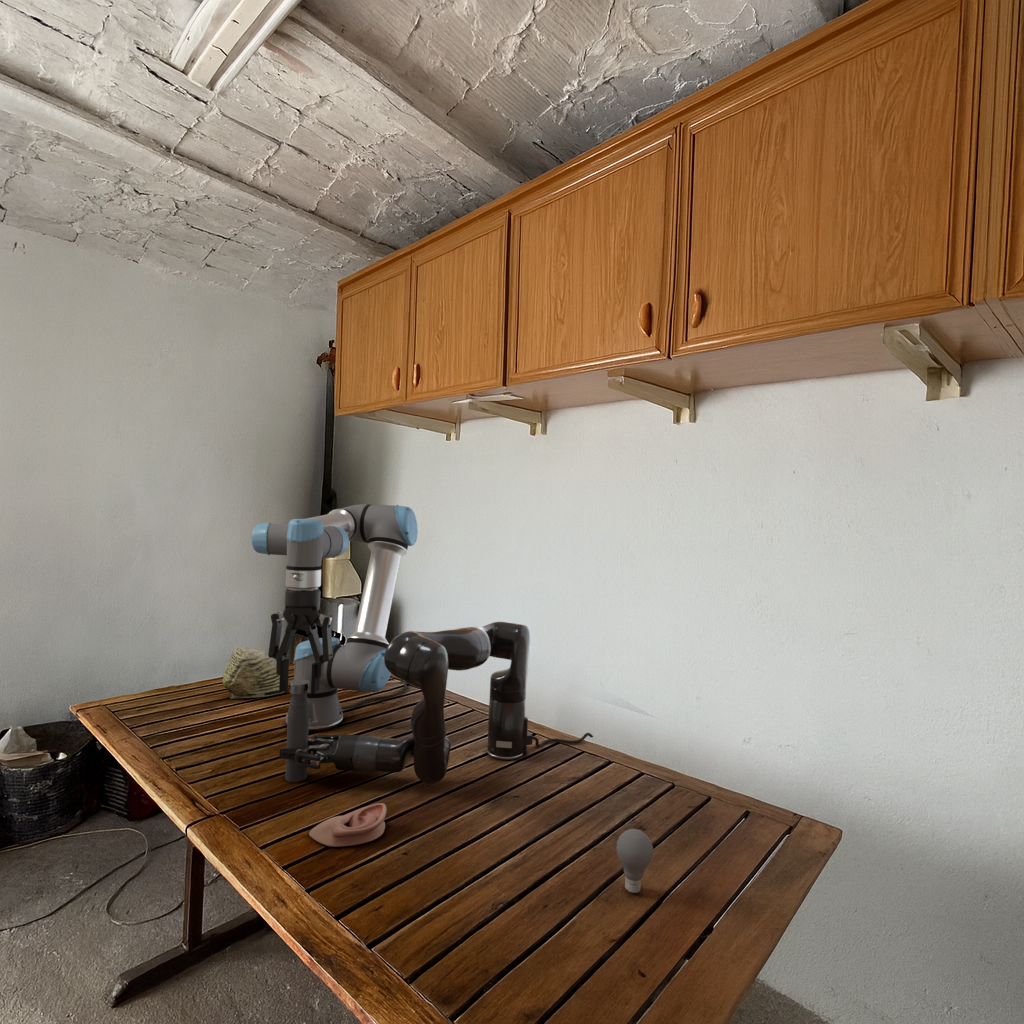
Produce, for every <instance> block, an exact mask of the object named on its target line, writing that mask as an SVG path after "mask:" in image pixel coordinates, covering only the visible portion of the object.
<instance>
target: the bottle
mask: <svg viewBox="0 0 1024 1024" xmlns="http://www.w3.org/2000/svg"><path fill="white" fill-rule="evenodd" d="M306 696H307V693H306V694H300V695H295V694H291V697H290V701H289V705H288V709H287V713H288V718H287V726H286V745H285V748H297V749H300V748H308V738H309V732H308V730H309V708H308V701H307V697H306ZM303 753H307V752H303ZM303 762H304V761H303ZM284 773H285V775H284V779H285V781H286V782H288V783H299V782H302V781H304V780H306V779H307V778H308V767H304V766H299V765H296V759H285V772H284Z"/></svg>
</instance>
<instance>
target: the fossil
mask: <svg viewBox="0 0 1024 1024" xmlns="http://www.w3.org/2000/svg"><path fill="white" fill-rule="evenodd" d="M276 666H277V664H276V663H275V662H274V659H273V658H270V657H269V656H268V653H266V652H265V650H264V649H263V648H260V647H258V648H251V647H247V646H246V647H245V646H238V647H237V648H236V649H235V650H233V651H232V653H231V656H230V657H229V659H228V660H227V663H226V666H225V668H224V671H223V675H222V676H223V677H222V685H223V687H224V688H225V690H226V691H228V693H229V698H230V699H250V698H264V697H271V696H275V695H281V694H284V693H285V691H286V690H287V689H285V690H284V691H279V683H280V675H277V673H276Z"/></svg>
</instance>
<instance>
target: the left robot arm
mask: <svg viewBox="0 0 1024 1024" xmlns="http://www.w3.org/2000/svg"><path fill="white" fill-rule="evenodd" d="M418 531H419V530H418V521H417V516H416V514H415V512H414V510H413V508H411V507H409V506H405V505H399V504H395V505H394V504H393V505H391V504H390V505H389V504H369V503H362V504H361V503H360V504H354V505H350V506H345V507H340V508H336V509H332V510H330V511H329V512H328V513H327V514H323V515H317V516H312V517H311V516H310V517H307V518H293V519H290V520H289V521H286V522H280V523H271V522H268V523H267V522H265V523H264V522H262V523H261V522H260V523H258V524H257V525H256V526H254V528H253V530H252V533H251V547H252V548H253V550H254V551H255V552H256V553H257V554H261V555H263V554H264V555H267V556H271V555H272V556H273V555H275V556H286V566H285V569H286V570H285V587H286V589H285V590H284V609H283V611H281V612H280V611H276V612H274V613H272V614H270V620H271V629H270V630H271V632H270V639H269V647H268V653H267V655H268V656H269V658H271V659H273V660H275V661H276V673H277V675H280V683H279V691H284V690H285V689H286V690H287V689H289V675H290V674H289V672H290V659H289V658H287V657H288V653H289V650H290V647H291V645H292V642H293V639H294V636H295V635H296V632H297V631H299V630H300V631H303V632H305V634H306V636H307V638H308V639H307V640H304V641H302V642H299V643H298V644H297V645H296V647H295V652H294V653H295V654H294V659H293V661H294V672H293V680H298V679H304V680H309V681H310V689H309V692H308V693H307V696H306V697H307V701H308V708H309V730H308V733H316V732H325V731H329V730H332V729H335V728H337V727H339V726H340V725H342V723H343V722H344V714H343V710H348V709H352V708H356V707H357V706H360V705H362V704H364V703H368V702H371V701H377V700H383V699H390V698H394V697H396V696H398V695H401V694H402V693H403V692H404V691H406V689H407V684H408V683H407V682H405V681H403V682H404V683H403V687H402V688H401V689H400V690H398V691H396V692H394V693H391V694H386V695H380V696H379V695H378V696H373V697H368V698H365V699H362V700H360V701H357V702H354V703H352V704H348V705H343V706H341V702H340V699H339V695H338V689H339V690H347V691H357V692H361V693H377V692H380V691H381V690H382V689H384V687H385V686H386V685H387V684H388V682H389V680H390V677H391V675H392V674H391V673H390V672H389V671H388V669H387V668H386V666H385V662H384V655H385V651H386V649H387V647H388V645H389V644H390V642H388V640H387V638H386V634H387V629H388V624H389V619H390V614H391V610H392V609H391V608H392V604H393V599H394V593H395V588H396V583H397V578H398V574H399V573H398V572H399V567H400V563H401V558H402V557H404V556H405V555H406V554H407V553H408V548H409V547H412V546H414V545H415V544H416V542H417V539H418V533H419V532H418ZM350 542H356V543H365V544H367V548H368V550H370V557H369V562H368V567H367V571H366V576H365V581H364V585H363V589H362V594H361V599H360V604H359V608H358V613H357V618H356V623H355V628H354V632H353V633H352V634H350V635H349V636H347V638H346V642H345V644H340V643H341V641H340V639H339V638H338V637H334V636H333V635H332V634H333V633H332V624H333V621H334V616H333V615H325V614H323V613H322V611H321V608H320V607H321V593H322V592H321V590H320V587H321V586H322V564H323V563H322V561H323V560H325V559H335V558H337V557H340V556H342V555H343V554H345V553H346V551H348V548H349V545H350ZM284 620H285V621H286V623H287V626H286V628H285V631H284V632H285V633H284V635H283V638H282V640H281V637H282V628H283V622H284ZM319 621H320V625H321V637H320V636H319V634H318V632H319V631H318V627H317V623H318V622H319ZM286 690H285V691H286ZM285 691H284V692H285ZM287 718H288V712H287V713H286V715H285V726H286V727H287Z"/></svg>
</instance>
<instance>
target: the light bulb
mask: <svg viewBox="0 0 1024 1024" xmlns="http://www.w3.org/2000/svg"><path fill="white" fill-rule="evenodd" d="M615 849H616V854H617V857H618V859H619V861H620V863H621V865H622V867H623V873H624V874H623V875H624V876H625V878H624V888H625V890H627V891H628V892H630V893H634V894H635V893H639V892H640V891H641V889H642V887H641V886H642V879H643V877H644V875H645V871H646V868H647V867H648V866H649V864H650V863H651V861H652V859H653V855H654V847H653V843H652V841H651V838H649V836H648V835H647V834H646V833H645V832H643V831H642V830H641V829H636V828H629V829H627V830H625V831H623V832H622V833H621V834H620V835H619V837H618V839H617V841H616V847H615Z"/></svg>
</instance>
